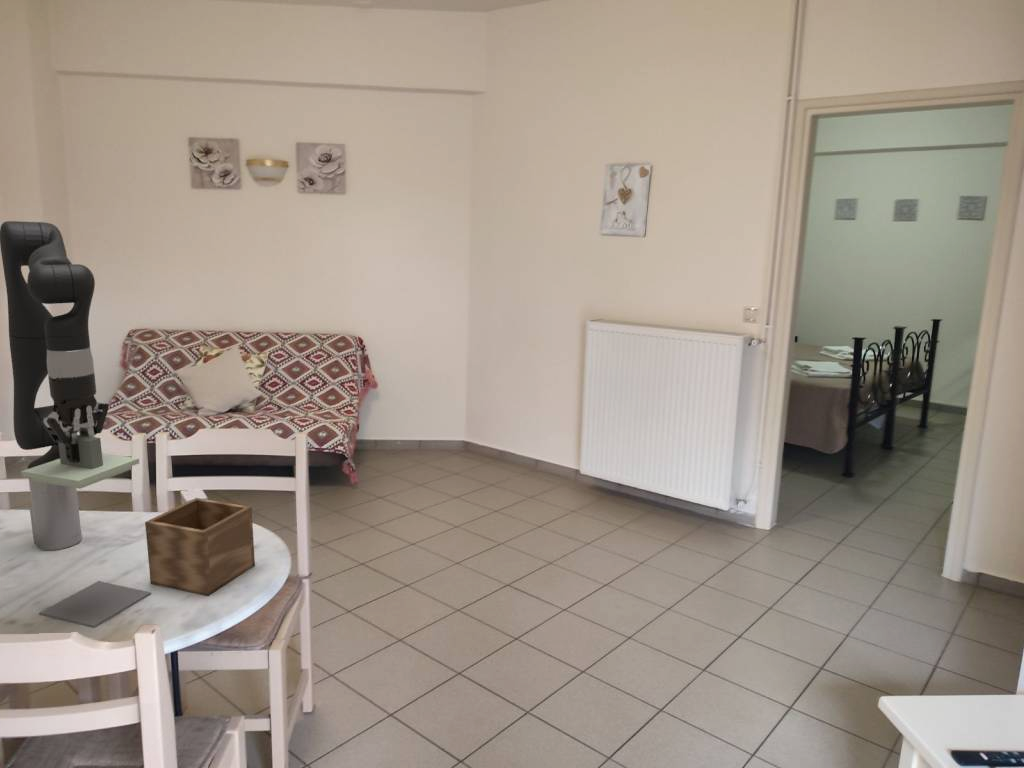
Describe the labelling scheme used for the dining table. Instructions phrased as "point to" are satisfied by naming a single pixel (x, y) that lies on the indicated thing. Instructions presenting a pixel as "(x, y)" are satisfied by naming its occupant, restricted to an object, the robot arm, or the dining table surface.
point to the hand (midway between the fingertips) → (80, 459)
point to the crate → (200, 545)
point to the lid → (81, 465)
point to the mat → (95, 604)
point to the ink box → (192, 495)
